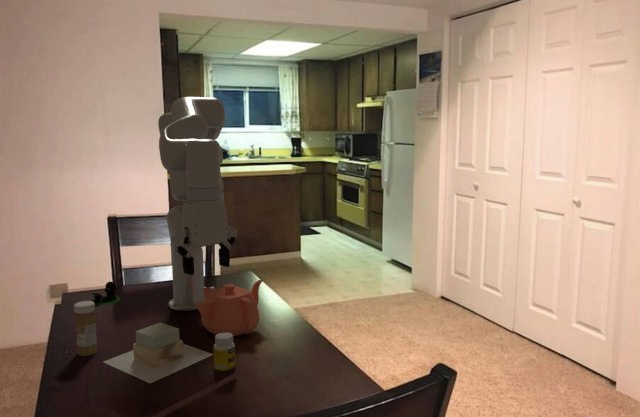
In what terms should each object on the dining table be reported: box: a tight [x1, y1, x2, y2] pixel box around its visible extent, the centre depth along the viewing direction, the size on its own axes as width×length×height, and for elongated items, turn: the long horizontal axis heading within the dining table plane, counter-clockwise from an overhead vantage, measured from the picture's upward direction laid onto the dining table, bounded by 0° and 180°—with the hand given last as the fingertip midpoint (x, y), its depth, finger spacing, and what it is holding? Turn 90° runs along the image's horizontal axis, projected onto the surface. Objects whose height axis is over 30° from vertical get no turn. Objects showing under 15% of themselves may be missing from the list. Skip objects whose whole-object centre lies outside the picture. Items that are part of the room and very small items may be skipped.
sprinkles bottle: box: [73, 300, 98, 357], centre depth 127 cm, size 5×5×13 cm
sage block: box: [135, 322, 181, 350], centre depth 124 cm, size 7×7×3 cm
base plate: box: [102, 343, 214, 384], centre depth 125 cm, size 18×18×1 cm
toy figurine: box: [90, 281, 121, 306], centre depth 171 cm, size 10×10×6 cm
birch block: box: [132, 339, 184, 369], centre depth 125 cm, size 8×8×4 cm
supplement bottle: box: [213, 333, 236, 372], centre depth 120 cm, size 5×5×8 cm
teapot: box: [197, 278, 264, 337], centre depth 142 cm, size 16×17×14 cm
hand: (207, 269), depth 120 cm, fingers open, 9 cm apart
